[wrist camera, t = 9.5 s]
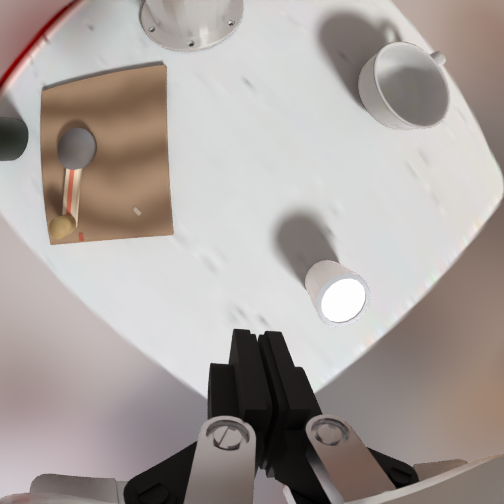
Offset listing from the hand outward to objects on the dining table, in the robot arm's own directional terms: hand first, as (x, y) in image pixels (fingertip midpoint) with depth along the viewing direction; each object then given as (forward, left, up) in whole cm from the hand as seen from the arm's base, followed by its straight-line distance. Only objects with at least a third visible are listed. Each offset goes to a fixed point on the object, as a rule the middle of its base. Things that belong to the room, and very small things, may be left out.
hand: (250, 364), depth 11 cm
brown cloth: (-9, -15, -28) cm, 33 cm away
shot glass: (+8, +13, -28) cm, 32 cm away
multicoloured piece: (-7, -18, -26) cm, 33 cm away
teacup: (-18, +23, -28) cm, 40 cm away
